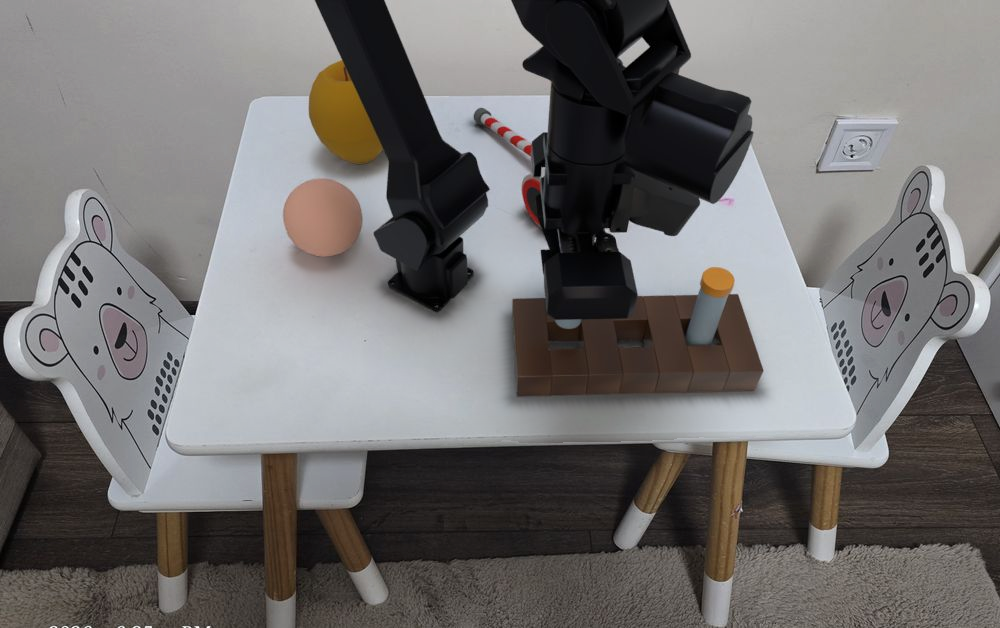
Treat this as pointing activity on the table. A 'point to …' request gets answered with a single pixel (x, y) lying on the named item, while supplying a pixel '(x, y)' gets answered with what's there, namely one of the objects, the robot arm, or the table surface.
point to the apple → (342, 116)
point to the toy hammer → (529, 183)
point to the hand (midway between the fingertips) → (569, 292)
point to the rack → (633, 351)
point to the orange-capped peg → (709, 306)
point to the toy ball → (322, 217)
